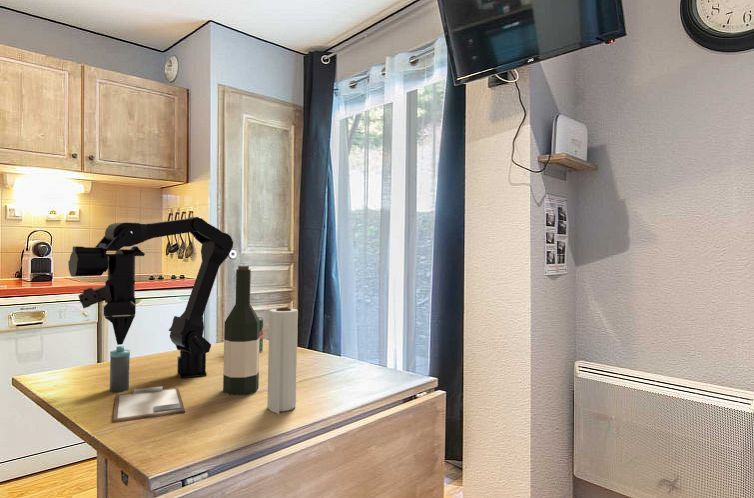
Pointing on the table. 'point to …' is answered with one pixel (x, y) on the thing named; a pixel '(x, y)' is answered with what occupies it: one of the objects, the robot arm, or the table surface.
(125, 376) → the water bottle
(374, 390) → the table surface
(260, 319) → the canned tomato
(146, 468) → the table surface
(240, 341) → the wine bottle
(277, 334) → the paper towel roll
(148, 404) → the clipboard
